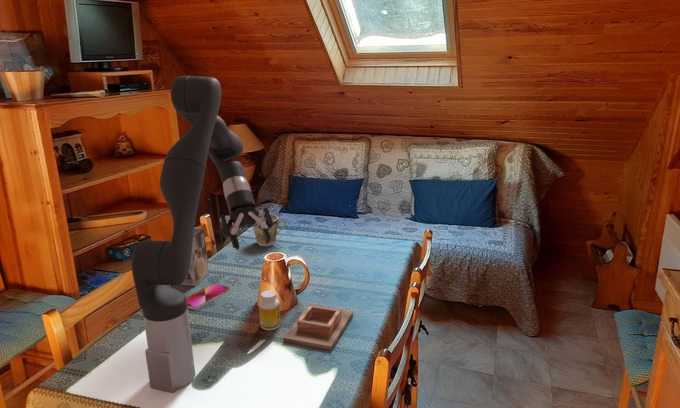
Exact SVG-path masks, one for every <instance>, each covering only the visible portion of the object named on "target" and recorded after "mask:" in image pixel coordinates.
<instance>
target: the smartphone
mask: <svg viewBox="0 0 680 408" xmlns="http://www.w3.org/2000/svg"><path fill="white" fill-rule="evenodd" d="M230 290H231V287H229V286H226V285H222V284H219V283H211V284H209V285H207V286H205V287H204V288H202V289H200V290H198V291H197V292H194V293H192V294H191V295H189V296H188V297H186V300H187V307H188V309H190V310H193V311H196V310H200V309H201V308H203V307H204V306H206V305H208V304H209V303H211V302H213V301H214V300H216V299H218V298H220V297H221V296H223V295H225V294H226V293H228V292H229V291H230Z"/></svg>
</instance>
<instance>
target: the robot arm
mask: <svg viewBox="0 0 680 408" xmlns="http://www.w3.org/2000/svg"><path fill="white" fill-rule="evenodd" d="M221 99H222V86H221V84H220V82H219V80H218V79H217V78H215V77H211V76H197V75H196V76H195V75H181V76H177V77H175V78H174V79H173V81H172V84H171V86H170V100H171V102H172V103H171V104H172V106H173V107H174V109H175V110H176V112H177V113H178V114H179V115H181V116H182V117H183V118H184V119H185V120H186V121H188V122H189V123H190V124H191V127H190V128H189V129H188V131H186V133H184V135H182V136H181V137H180V138H179V139H178V140H177V141H176V142H175V143H174V144H173V145H172V146H171V147H170V149H169V150H168V151H167V153H166V155H165V157H164V160H163V163H162V168H161V173H160V179H159V186H160V191H161V194H162V196H163V198H164V201H165V203H166V205H167V207H168V209H169V212H170V214H171V218H172V224H173V226H172V227H173V228H172V237H171V239H170V240H149V239H148V240H142V241H140V242H138V243H137V244H136V245H135V247H134V249H133V251H132V255H131V272H132V278H133V283H134V286H135V287H134V288H135V292H136V296H137V302H138V305H139V307H140V309H141V310H142V316H143V323H144V330H145V331H144V332H145V337H146V344H147V349H145V350H144V352H145V360H146V365H147V366H146V367H147V372H148V379H149V386H150V388H153V389H157V390H161V391H164V392H170V393H174V392H176V391H177V390H179V389H181V388H184V387H186V386H187V385H189V384H190V383H192V382H193V380H195V376H196V367H195V359H194V353H193V352H194V351H193V342H192V336H191V335H192V334H191V326H190V317H189V311H188V309H189V308H188V307H187V300H186V298H187V297H186V295H185V294H184V293H183V292H182V291H180V290H178V289H175V288H173V287H171V286H181V285H180V284H182V283H183V282H184V281H185V279H186V277H187V275H188V272H189V267H190V262H191V254H192V244H193V235H194V228H195V225H196V217H197V212H198V208H199V202H200V198H201V193H202V189H203V184H204V178H205V174H206V173H205V172H206V167H207V161H208V156H209V158H210V159H211V161H212V162H213V163H214V165H215V167H216V169H217V170H218V173H219V176H220V179H221V182H222V188H223V189H222V190H223V194H224V198H225V202H226V205H227V208H228V211H229V215H226V214H221V215H220V217H219V222H220V223H219V224H220V228H221V233H222V237H223V238H229V239H230V241H231V245H232V248H233V249H235V250H236V251H239V250H240V243H239V240H238V236H237V234H236V233H237V232H238V230H239V228H240V229H242V230H243V229H246V228H253V226H255V227H256V228H258V229H260V230H261V231H263V237H264V240H265V243H266V244H269V242H270V240H271V237H270V234H269V229H272V226H273V221H272V218H271V216H270V214H271V213H270V210H269V209H268V207H264V208H263V209H260V210H258V208H257V207H256V203H255V199H254V196H253V193H252V190H251V186H250V184H249V182H248V180H247V176H246V173H245V169H244V167H243V164H242V163H241V162H240V161H238V160H237V161H236V160H232V159H234V158H237V157H240V156H241V155H242V154H243V151H244V144H243V141H242V139H241V138H240V137H239V136H238V135H237V134H236V133H235V132H234V131H232V130H230V129H229V128H228V126H227V124H226V122H225V120H224V119H222V118H221V117H220V115H218V114H219V110H220V107H221V102H222V100H221ZM228 160H229V161H228ZM259 215H261V216H262V217H264V219H265V222H266V224H267V225H266V224H265V223H263V222H262V220H261V219H259V218H258V216H259ZM229 221H230V222H231V223H233V224H234V225H233V226H232V229H231V230H229V229H228V225H227V224H228V223H229Z"/></svg>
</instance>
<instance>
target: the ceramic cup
mask: <svg viewBox="0 0 680 408" xmlns="http://www.w3.org/2000/svg"><path fill="white" fill-rule="evenodd" d="M270 216H271V218H272V221H273V226H272V229H269V234H270V237H271V240H270V242H269V244H266V243H265V240H264V237H263V231H261V230H260V229H258V228H256V227H255V226H252V228H253V232H254V236H255V240H256V243H257V245H258V246H261V247H271V246H274V245H275V243H276V241H277V235H278V234H279V233H280V232H281V231H282V230H284V229H285V228H286V226H287V222H286V221H285V220H282V219H280V220H279V216H278V215H276V214H273V213H270ZM258 218H259V219H261V220H262V222H263V223H265V224H266V222H265V219H264V217H262V216H261V215H259V216H258ZM280 223H284V226H283V227H282V228H280V229H279V230H278V226H279V225H280ZM266 225H267V224H266Z"/></svg>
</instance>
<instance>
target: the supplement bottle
mask: <svg viewBox="0 0 680 408" xmlns="http://www.w3.org/2000/svg"><path fill="white" fill-rule="evenodd" d="M258 308H259V309H258V310H259V323H260V324H259V325H260V328H261V329H262V330H264V331H273V330H277V329H279V327H280V326H281V309H280V308H281V307H280V300H279V299H278V298H277V292H276V291H275V290H272V289H270V290H264V291H263V292H261V294H260V301H259V303H258Z"/></svg>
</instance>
